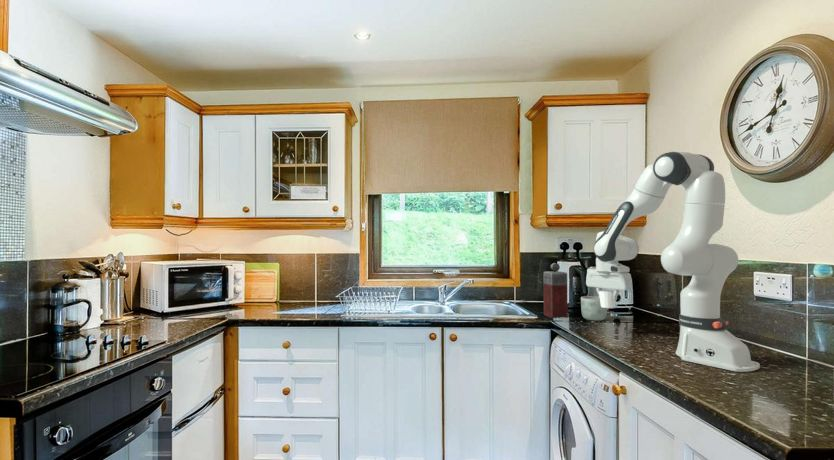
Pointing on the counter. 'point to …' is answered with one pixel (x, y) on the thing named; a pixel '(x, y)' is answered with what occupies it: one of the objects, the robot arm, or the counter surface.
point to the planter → (592, 308)
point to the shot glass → (607, 299)
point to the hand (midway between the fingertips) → (607, 299)
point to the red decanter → (555, 292)
